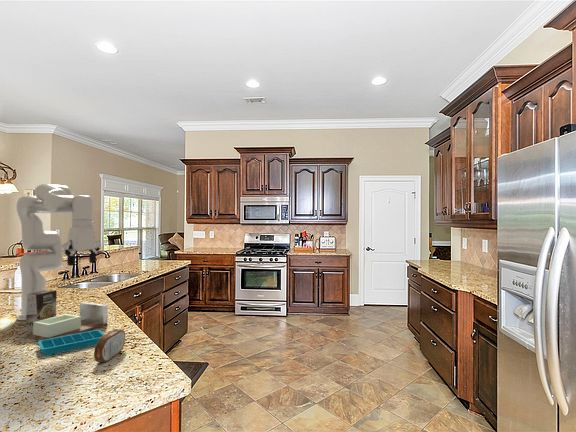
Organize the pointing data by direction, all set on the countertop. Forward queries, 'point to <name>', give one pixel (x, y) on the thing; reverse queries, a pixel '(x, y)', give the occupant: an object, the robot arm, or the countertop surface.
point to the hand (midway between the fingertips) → (82, 264)
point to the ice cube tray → (70, 342)
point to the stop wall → (94, 312)
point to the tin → (109, 345)
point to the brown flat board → (84, 328)
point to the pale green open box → (56, 325)
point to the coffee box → (40, 307)
